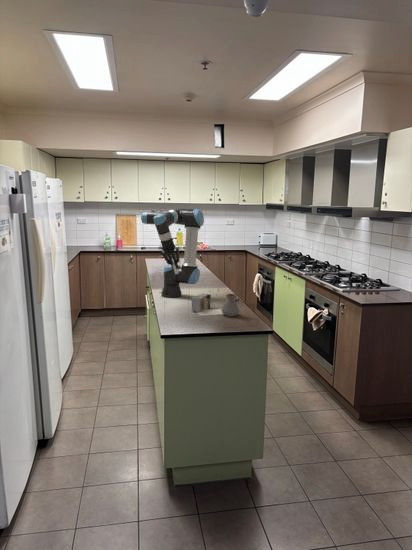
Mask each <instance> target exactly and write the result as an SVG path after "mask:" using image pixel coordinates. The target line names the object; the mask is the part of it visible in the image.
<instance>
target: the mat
mask: <svg viewBox="0 0 412 550" xmlns="http://www.w3.org/2000/svg"><path fill="white" fill-rule="evenodd" d="M196 313H197V314H198V315H199V316H201V317H207V316H225V315H224V314H223V313H222V308H213V309H211V308H209V309H206V310H203V311H201V312H196Z"/></svg>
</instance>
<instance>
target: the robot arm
mask: <svg viewBox="0 0 412 550" xmlns="http://www.w3.org/2000/svg"><path fill="white" fill-rule="evenodd" d="M141 213H142V214H141V217H140V220H141V223H143V224H144V225H155V228H156V231H157V235H158V238H159V241H160V244H161V247H162V249H161V250H160V251H159V253H160V254H161V255H162V257H163V258H164V260H165V262H166V264H167V265H166V266H164V268H163V287H162V290H161V297H162V298H166V299H175V298H176V299H177V298H181V297H183V296H182V295H183V294H182V290H181V286H180V284H184V285H185V284H186V285H196V284H197V283H198V282H199V279H200V276H201V272H200V271H201V270H200V269H199V268H198V265H197V249H198V240H199V239H198V238H199V230H201V227H203V226H204V223H205V217H204V213H203V211H202V210H201V209H195V208H178V209H171V210H168V211H153V212H152V211H151V212H149V211H145V212H141ZM173 224H175V225H181V226H184V229H185V230H186V232H185V244H184V245H185V246H184V259H183V263H182V264H181V265H180V264H179V262H180V247H179V246H176V245H175V242H174V240H173V237H172V233H171V230H170V226H171V225H173Z"/></svg>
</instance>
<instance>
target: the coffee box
mask: <svg viewBox="0 0 412 550" xmlns="http://www.w3.org/2000/svg"><path fill="white" fill-rule="evenodd" d="M211 297H212V296H211V294H210V293H209V294H208V293H201V294H198V295H196V296H192V297H191V312H196V313H197V312H201V311H203V310H209V309H211Z"/></svg>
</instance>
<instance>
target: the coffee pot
mask: <svg viewBox="0 0 412 550" xmlns="http://www.w3.org/2000/svg"><path fill="white" fill-rule="evenodd" d="M225 296H226V300H225V302H224V304H223V306H222V308H221V309H222V313H223V314H224V315H223V316H226V317H230V318H231V317H232V318H233V317H236V316H238V315H239V313H240V312H241V311H240V308H239V305H238V303H241V299H240V298H237V297H238V295H237V294H235V293H227V294H226V295H225ZM236 298H237V299H236Z"/></svg>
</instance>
